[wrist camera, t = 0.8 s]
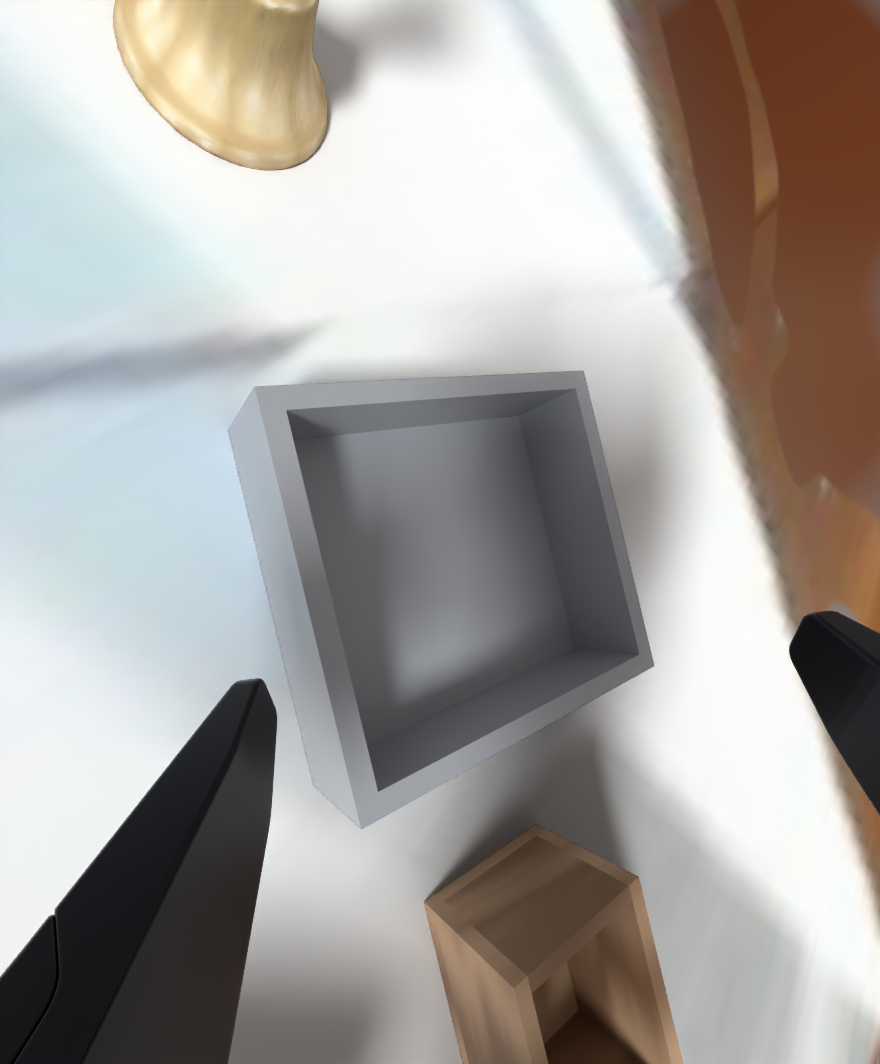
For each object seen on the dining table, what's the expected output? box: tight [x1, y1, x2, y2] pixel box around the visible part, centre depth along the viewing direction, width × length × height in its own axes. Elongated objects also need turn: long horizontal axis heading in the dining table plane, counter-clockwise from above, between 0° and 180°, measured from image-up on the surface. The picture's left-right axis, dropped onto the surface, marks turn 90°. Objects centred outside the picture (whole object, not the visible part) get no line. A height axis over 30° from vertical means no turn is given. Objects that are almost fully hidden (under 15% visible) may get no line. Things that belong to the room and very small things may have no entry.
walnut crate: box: [424, 824, 683, 1064], centre depth 21 cm, size 9×6×6 cm
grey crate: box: [228, 371, 654, 829], centre depth 22 cm, size 14×15×5 cm
